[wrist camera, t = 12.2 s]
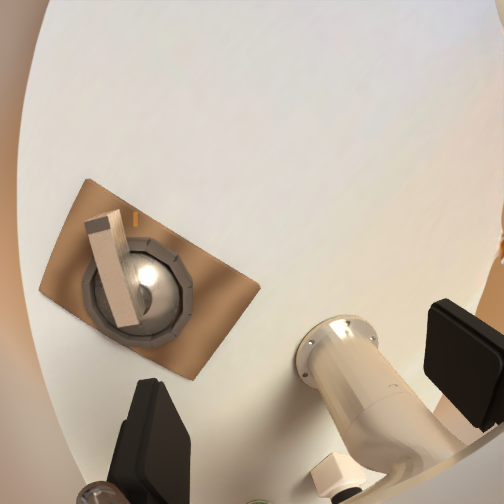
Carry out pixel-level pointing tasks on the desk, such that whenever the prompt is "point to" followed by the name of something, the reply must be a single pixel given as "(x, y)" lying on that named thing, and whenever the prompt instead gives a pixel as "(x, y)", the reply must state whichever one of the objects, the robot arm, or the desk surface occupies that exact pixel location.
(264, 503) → the supplement bottle
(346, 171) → the desk surface
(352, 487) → the medicine bottle
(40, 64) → the desk surface
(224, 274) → the dial base
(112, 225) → the dial
